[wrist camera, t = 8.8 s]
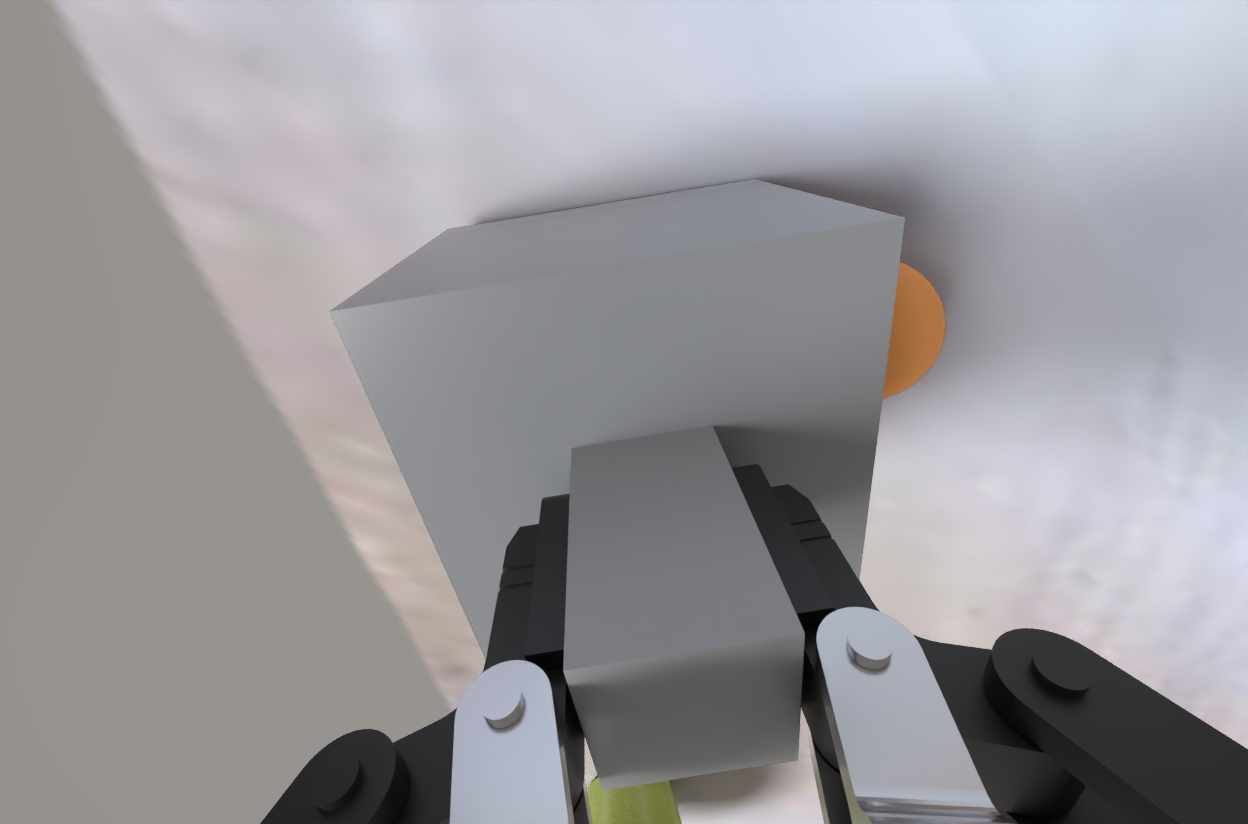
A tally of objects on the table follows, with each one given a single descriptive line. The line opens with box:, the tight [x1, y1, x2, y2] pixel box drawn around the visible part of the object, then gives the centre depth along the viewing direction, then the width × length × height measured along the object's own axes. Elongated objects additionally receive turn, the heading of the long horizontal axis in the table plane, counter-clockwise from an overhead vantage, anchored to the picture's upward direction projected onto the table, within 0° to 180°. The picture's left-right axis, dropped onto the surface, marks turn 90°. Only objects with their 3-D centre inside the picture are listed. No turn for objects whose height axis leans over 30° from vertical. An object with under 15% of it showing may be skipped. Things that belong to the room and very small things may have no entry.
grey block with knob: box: [329, 179, 905, 791], centre depth 13 cm, size 10×10×14 cm
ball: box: [882, 262, 946, 399], centre depth 18 cm, size 5×5×5 cm
